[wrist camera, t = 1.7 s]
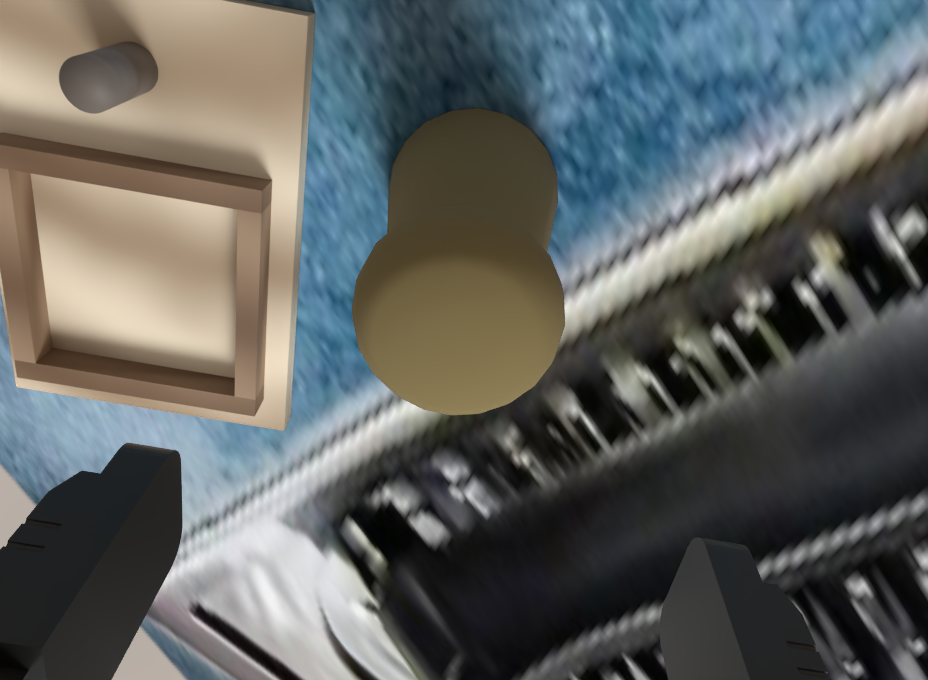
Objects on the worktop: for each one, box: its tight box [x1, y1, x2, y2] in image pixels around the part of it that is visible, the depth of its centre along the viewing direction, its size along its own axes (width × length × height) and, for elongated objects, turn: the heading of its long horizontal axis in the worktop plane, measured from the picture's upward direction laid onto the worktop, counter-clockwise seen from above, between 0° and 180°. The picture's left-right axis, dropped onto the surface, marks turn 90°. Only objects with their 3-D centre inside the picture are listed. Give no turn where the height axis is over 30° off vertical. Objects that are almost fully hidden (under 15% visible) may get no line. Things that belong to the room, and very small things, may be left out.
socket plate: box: [0, 0, 315, 431], centre depth 25 cm, size 16×11×4 cm
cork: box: [352, 108, 565, 415], centre depth 21 cm, size 6×6×11 cm
